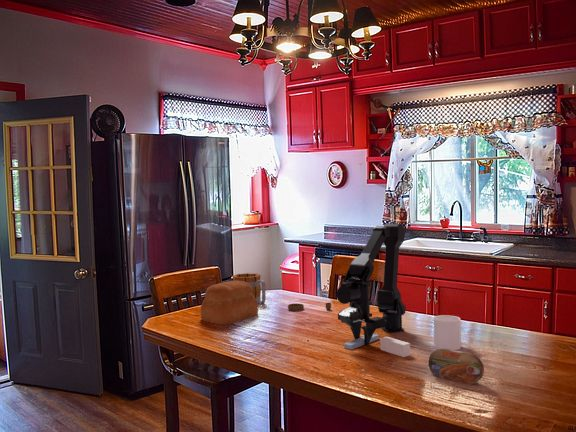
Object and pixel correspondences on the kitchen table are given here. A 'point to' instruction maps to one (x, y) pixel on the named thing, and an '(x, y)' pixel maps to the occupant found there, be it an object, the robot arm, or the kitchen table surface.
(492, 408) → the kitchen table surface
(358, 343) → the bar
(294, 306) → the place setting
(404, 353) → the fulcrum
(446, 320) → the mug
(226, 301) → the bread
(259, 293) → the mug
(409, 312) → the kitchen table surface
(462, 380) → the tin
